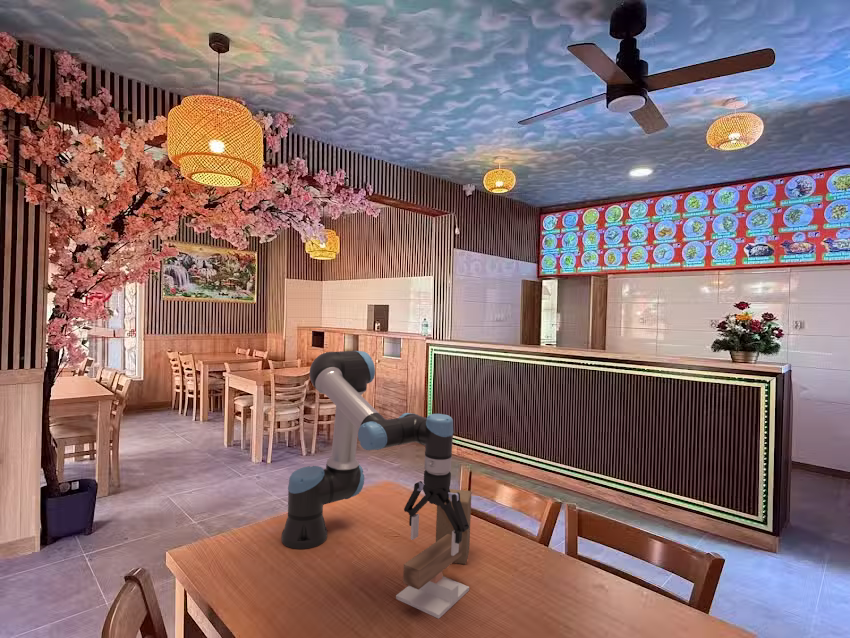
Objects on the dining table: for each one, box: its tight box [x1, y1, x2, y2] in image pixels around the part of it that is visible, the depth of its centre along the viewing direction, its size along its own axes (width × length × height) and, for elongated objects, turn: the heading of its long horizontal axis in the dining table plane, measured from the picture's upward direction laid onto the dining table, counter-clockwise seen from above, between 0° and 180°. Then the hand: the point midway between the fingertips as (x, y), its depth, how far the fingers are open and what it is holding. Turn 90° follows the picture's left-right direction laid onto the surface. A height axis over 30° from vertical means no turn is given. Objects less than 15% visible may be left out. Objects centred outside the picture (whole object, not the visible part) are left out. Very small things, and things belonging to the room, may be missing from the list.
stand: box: [395, 570, 470, 619], centre depth 134 cm, size 14×16×8 cm
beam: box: [402, 534, 462, 590], centre depth 134 cm, size 5×22×5 cm, turn 145°
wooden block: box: [435, 488, 472, 565], centre depth 156 cm, size 10×10×20 cm
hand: (433, 545), depth 134 cm, fingers open, 13 cm apart
